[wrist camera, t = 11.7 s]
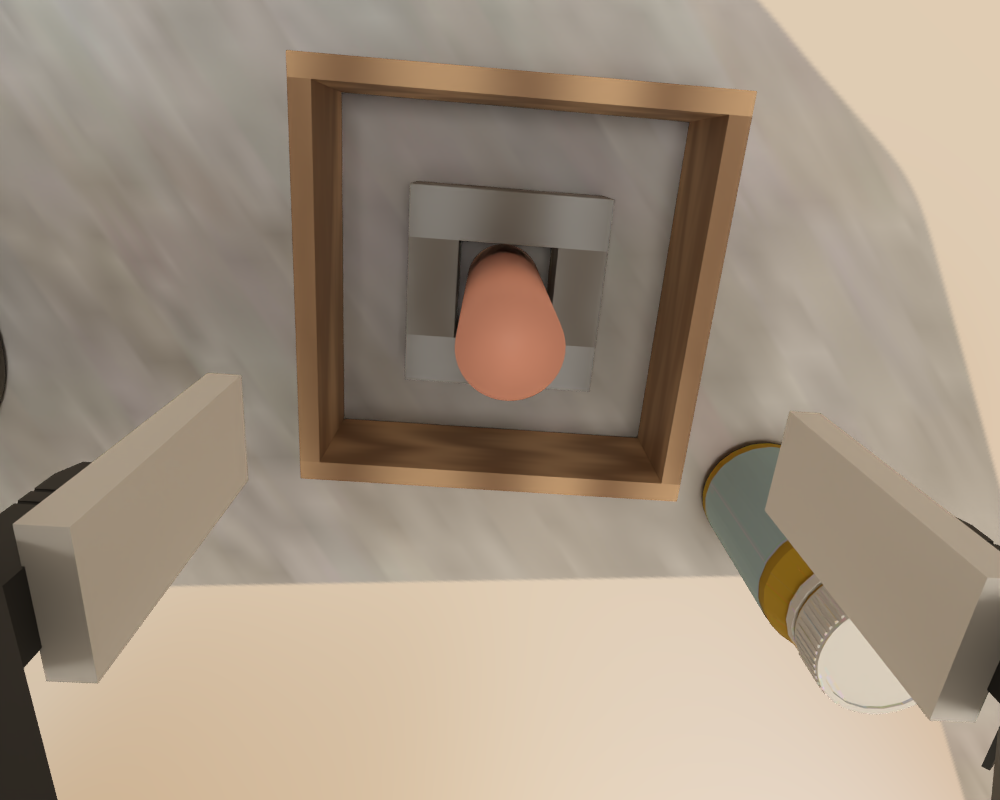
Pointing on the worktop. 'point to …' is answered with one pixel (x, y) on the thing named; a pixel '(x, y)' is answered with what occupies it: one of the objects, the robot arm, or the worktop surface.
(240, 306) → the worktop surface
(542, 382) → the peg
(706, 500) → the bottle
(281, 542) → the worktop surface
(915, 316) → the worktop surface
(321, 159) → the crate
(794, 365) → the worktop surface
